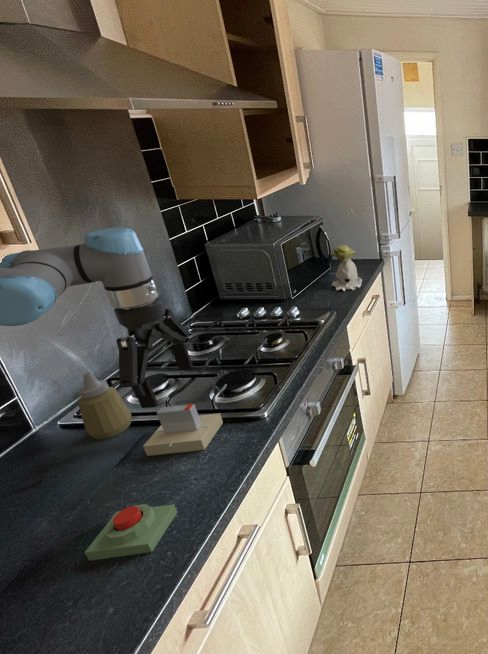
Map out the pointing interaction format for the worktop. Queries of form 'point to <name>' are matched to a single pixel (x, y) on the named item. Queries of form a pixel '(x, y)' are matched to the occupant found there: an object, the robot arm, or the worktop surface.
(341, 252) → the white green figurine
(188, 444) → the switch base
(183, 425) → the grey rectangular block
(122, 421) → the squeeze bottle
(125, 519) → the button
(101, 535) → the button box
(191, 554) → the worktop surface
